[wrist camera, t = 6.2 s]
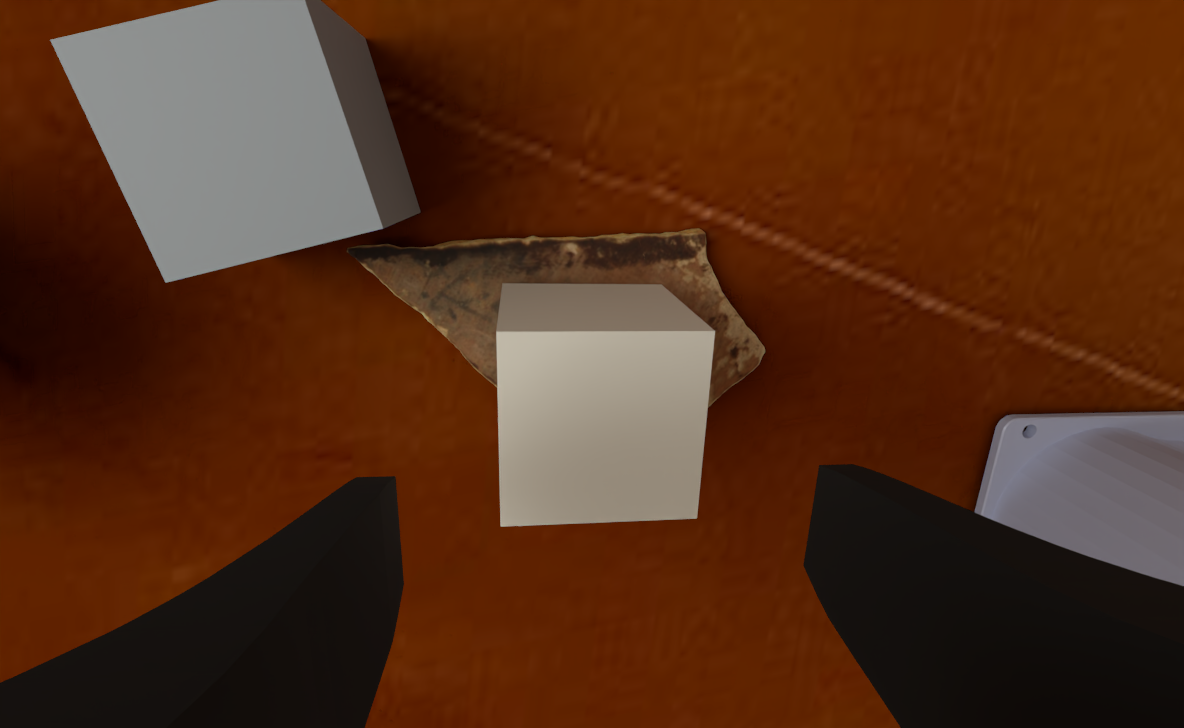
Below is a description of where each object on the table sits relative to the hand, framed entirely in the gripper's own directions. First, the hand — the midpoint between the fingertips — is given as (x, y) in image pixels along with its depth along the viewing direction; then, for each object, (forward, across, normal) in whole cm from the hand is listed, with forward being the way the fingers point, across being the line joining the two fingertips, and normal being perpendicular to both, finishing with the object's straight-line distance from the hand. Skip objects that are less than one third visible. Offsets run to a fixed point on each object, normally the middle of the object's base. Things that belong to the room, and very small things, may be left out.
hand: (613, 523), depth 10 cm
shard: (+10, 0, 0) cm, 10 cm away
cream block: (+8, 0, 0) cm, 8 cm away
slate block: (+9, +7, -6) cm, 13 cm away
